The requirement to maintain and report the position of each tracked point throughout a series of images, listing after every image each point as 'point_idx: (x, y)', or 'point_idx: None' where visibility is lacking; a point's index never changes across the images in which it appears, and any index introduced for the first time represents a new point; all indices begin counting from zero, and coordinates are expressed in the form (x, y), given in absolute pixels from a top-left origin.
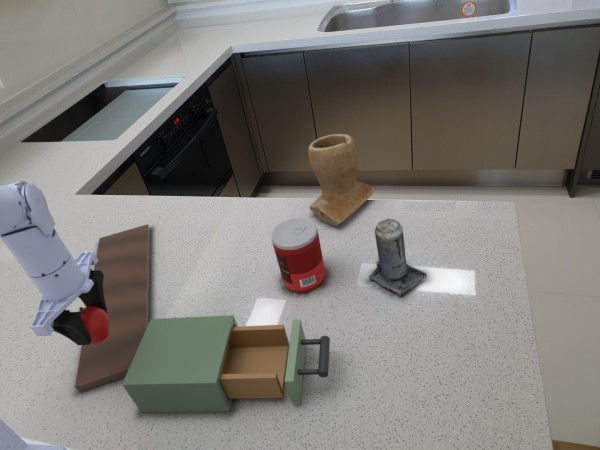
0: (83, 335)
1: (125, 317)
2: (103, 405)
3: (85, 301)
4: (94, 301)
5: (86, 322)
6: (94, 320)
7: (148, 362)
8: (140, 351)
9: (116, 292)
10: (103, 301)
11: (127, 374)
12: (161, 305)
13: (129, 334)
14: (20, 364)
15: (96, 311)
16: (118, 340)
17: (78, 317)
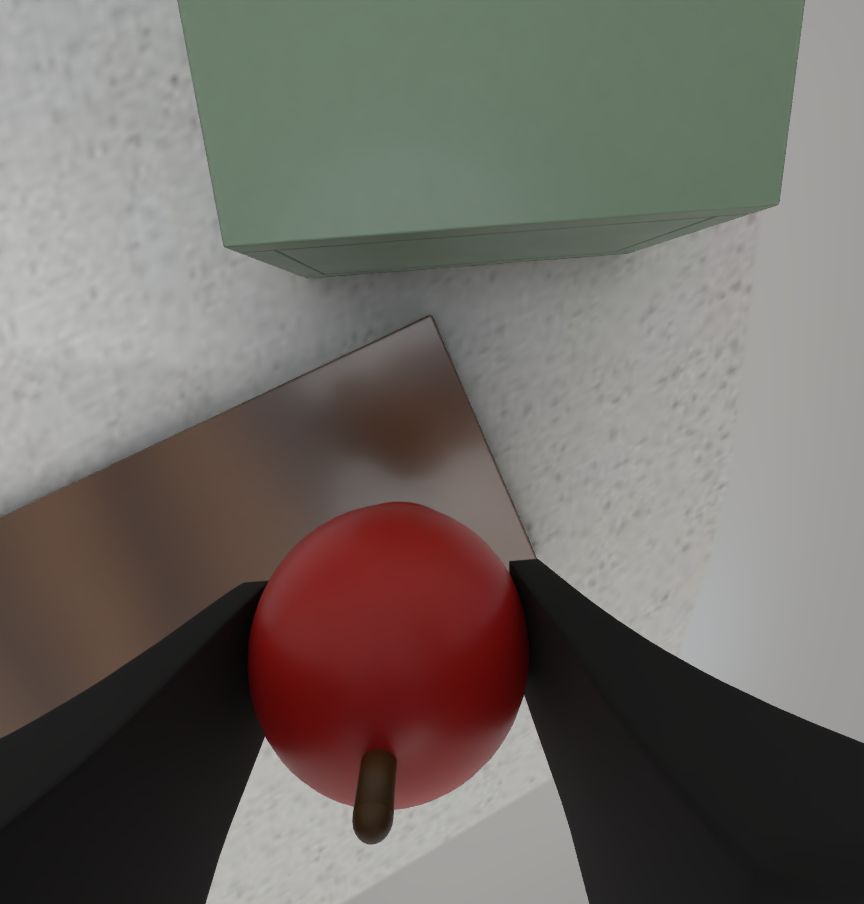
0: (605, 614)
1: (186, 540)
2: (589, 435)
3: (222, 806)
4: (205, 726)
5: (477, 663)
6: (432, 603)
7: (620, 61)
8: (519, 188)
9: (55, 653)
10: (180, 643)
11: (704, 200)
12: (75, 414)
13: (276, 473)
14: (431, 807)
15: (331, 639)
16: (314, 510)
17: (849, 829)
